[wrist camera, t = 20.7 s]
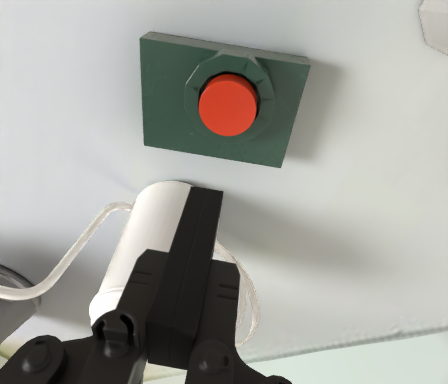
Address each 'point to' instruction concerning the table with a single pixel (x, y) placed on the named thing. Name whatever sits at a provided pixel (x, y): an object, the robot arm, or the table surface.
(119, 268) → the coffeepot
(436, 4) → the flask
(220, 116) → the button
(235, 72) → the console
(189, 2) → the table surface
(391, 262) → the table surface
